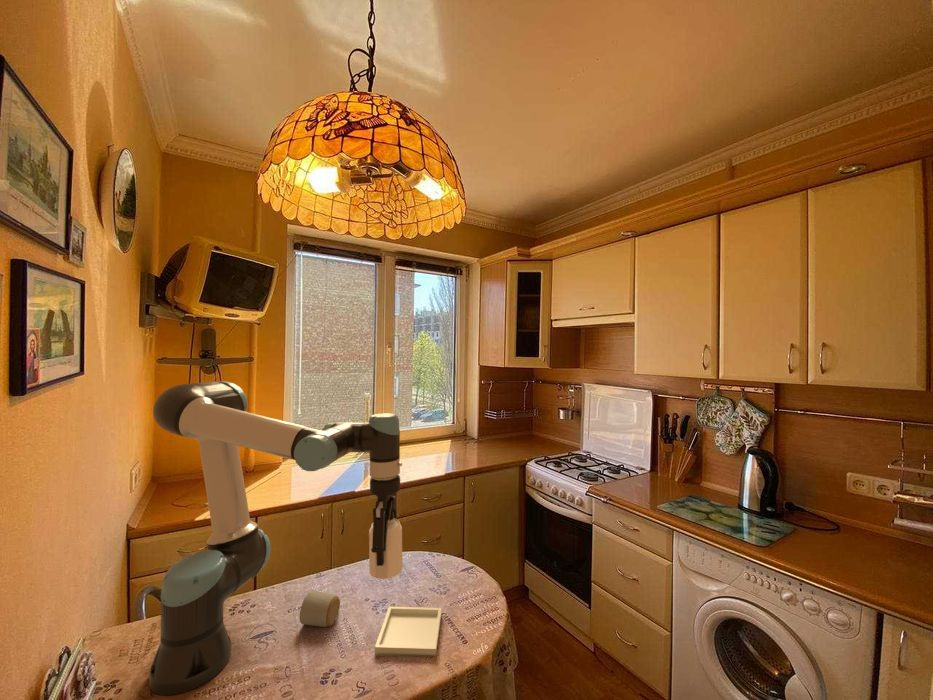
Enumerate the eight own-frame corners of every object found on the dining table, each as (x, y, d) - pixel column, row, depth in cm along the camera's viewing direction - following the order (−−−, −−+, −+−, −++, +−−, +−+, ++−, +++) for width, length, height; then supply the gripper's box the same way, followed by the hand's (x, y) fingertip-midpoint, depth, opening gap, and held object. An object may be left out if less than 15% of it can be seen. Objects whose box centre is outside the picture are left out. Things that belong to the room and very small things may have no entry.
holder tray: (374, 655, 90) (374, 647, 90) (388, 613, 104) (389, 606, 104) (435, 657, 89) (435, 648, 89) (441, 615, 104) (441, 608, 104)
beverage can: (366, 568, 96) (366, 521, 97) (397, 560, 100) (396, 514, 100) (373, 585, 89) (372, 533, 89) (406, 575, 93) (405, 526, 93)
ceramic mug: (328, 634, 96) (329, 603, 96) (298, 631, 97) (299, 600, 98) (346, 608, 107) (347, 580, 107) (319, 605, 108) (320, 577, 108)
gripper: (389, 490, 85) (390, 592, 84) (408, 464, 105) (409, 546, 105) (356, 490, 85) (357, 592, 84) (381, 464, 106) (382, 546, 105)
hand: (386, 566), depth 95 cm, fingers closed on beverage can, 8 cm apart
